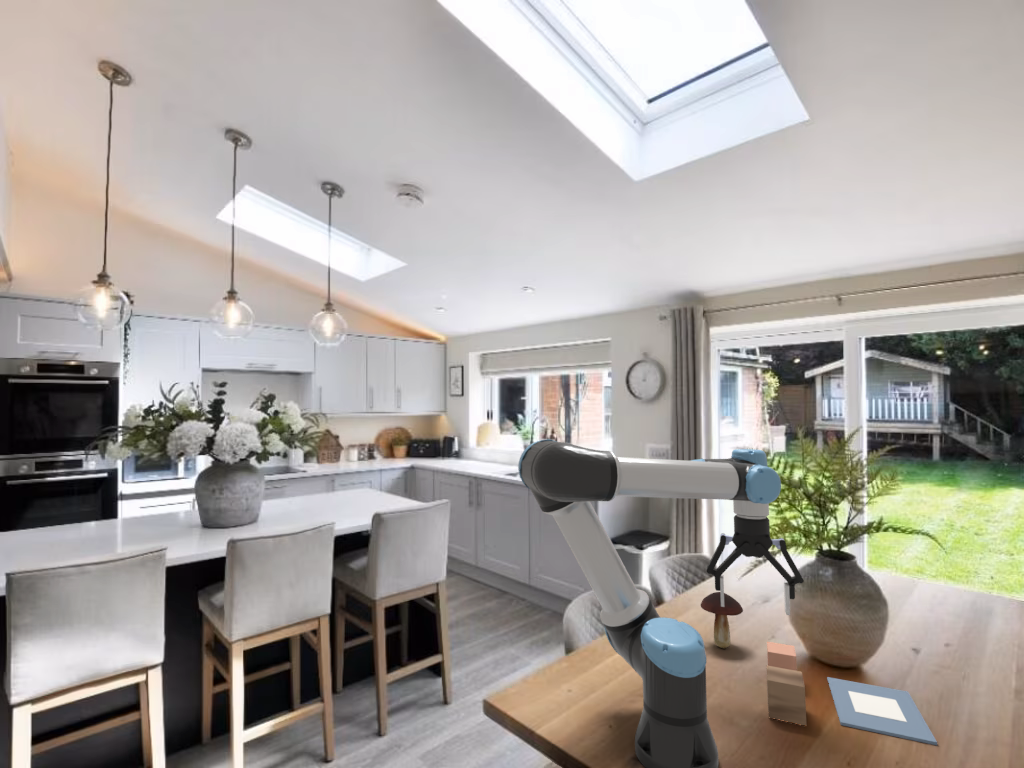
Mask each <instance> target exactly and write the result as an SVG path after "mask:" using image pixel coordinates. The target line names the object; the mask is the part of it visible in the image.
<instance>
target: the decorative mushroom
mask: <svg viewBox="0 0 1024 768" xmlns="http://www.w3.org/2000/svg"><path fill="white" fill-rule="evenodd" d="M700 608H701V609H702V610H703V611H705V612H708V613H710V614H714V622H713V623H714V624H713V640H714V643H715V645H716V646H717V647H719V648H720V649H726V648H728V647H729V646H730V644H731V631H730V623H729V619H728V616H729V617H730V616H732V617H733V616H739V615H741V614H742V613H744V612H743V611H744V608H743V607H742V605H741V604H740V602H738V601H737V600H736V599H735V598H734V597H733V596H731V595H729V594H727V593H726V592H724V607H721V593H720V591H716V592H711V593H710V594H708V595H706V596H705V597H704V598H703V599H702V600H701V602H700Z"/></svg>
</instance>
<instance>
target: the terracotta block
mask: <svg viewBox="0 0 1024 768" xmlns="http://www.w3.org/2000/svg"><path fill="white" fill-rule="evenodd" d="M795 648H796V647H795V645H792V644H791V645H790V644H784V643H779V642H772V641H766V652H767V654H766V655H767V656H766V657H767V666H772V667H778V668H784V669H789V670H795V671H798V667H797V654H796V653H797V652H796V649H795Z"/></svg>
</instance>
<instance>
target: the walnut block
mask: <svg viewBox="0 0 1024 768" xmlns="http://www.w3.org/2000/svg"><path fill="white" fill-rule="evenodd" d="M765 669H766V688H767V689H766V692H767V712H769V713H768V718H769V717H770V718H775V719H780V720H784V721H788V722H793V723H797V724H801V725H806V726H807V724H808V723H807V708H806V707H807V705H806V701H807V700H806V686H805V681H804V677H803V672H802V671H800V670H797V671H795V670H789V669H784V668H778V667H772V666H768V664H767V665H766V668H765ZM801 725H800V726H801Z"/></svg>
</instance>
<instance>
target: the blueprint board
mask: <svg viewBox="0 0 1024 768" xmlns="http://www.w3.org/2000/svg"><path fill="white" fill-rule="evenodd" d="M826 679H827V682H828V683H829V684H828V683H827V684H828V686H829V691H830V690H831V691H830V694H831V696H832V700H834V701H833V703H834V707H835V710H836V714H837V717H839V718H838V720H839V724H840V726H844V727H849V728H853V729H856V730H857V729H858V730H861V731H868V732H871V733H872V732H873V733H877V734H881V735H885V736H891V737H896V738H900V739H904V740H909V741H914V742H919V743H923V744H928V745H933V746H938V741H937V739H936V738H935V736H934V734H933V732H932V731H931V729H930V727H929V725H928V724H927V722H926V721H925V719H924V717H923V715H922V713H921V711H920V710H919V708H918V706H917V705H916V703H915V701H914V699H913V697H912V696H911V694H910V692H909V691H907V690H901V689H894V688H890V687H885V686H879V685H874V684H867V683H863V682H856V681H853V680H851V681H850V680H847V679H846V680H845V679H840V678H835V677H829V676H827V677H826Z"/></svg>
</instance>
